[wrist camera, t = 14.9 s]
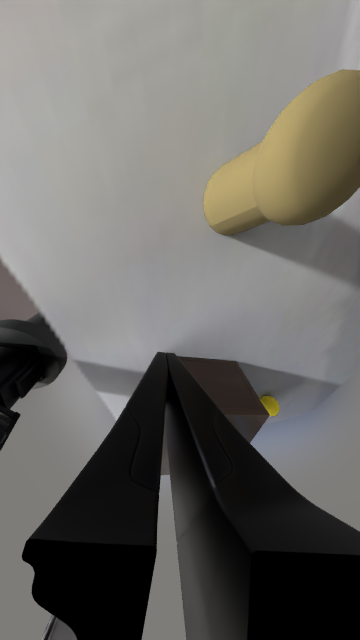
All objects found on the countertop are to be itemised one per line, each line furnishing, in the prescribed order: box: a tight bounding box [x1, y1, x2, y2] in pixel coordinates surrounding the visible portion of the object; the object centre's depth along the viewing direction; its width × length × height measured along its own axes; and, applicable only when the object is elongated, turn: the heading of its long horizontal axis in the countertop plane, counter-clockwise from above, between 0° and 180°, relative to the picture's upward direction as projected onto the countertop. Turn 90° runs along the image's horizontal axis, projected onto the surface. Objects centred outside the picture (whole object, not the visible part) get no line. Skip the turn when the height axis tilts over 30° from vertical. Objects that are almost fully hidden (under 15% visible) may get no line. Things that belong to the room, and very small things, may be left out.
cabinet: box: [161, 356, 270, 475], centre depth 24 cm, size 14×13×9 cm
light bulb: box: [260, 396, 280, 416], centre depth 31 cm, size 3×6×4 cm, turn 174°
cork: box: [203, 70, 360, 235], centre depth 11 cm, size 6×6×11 cm
